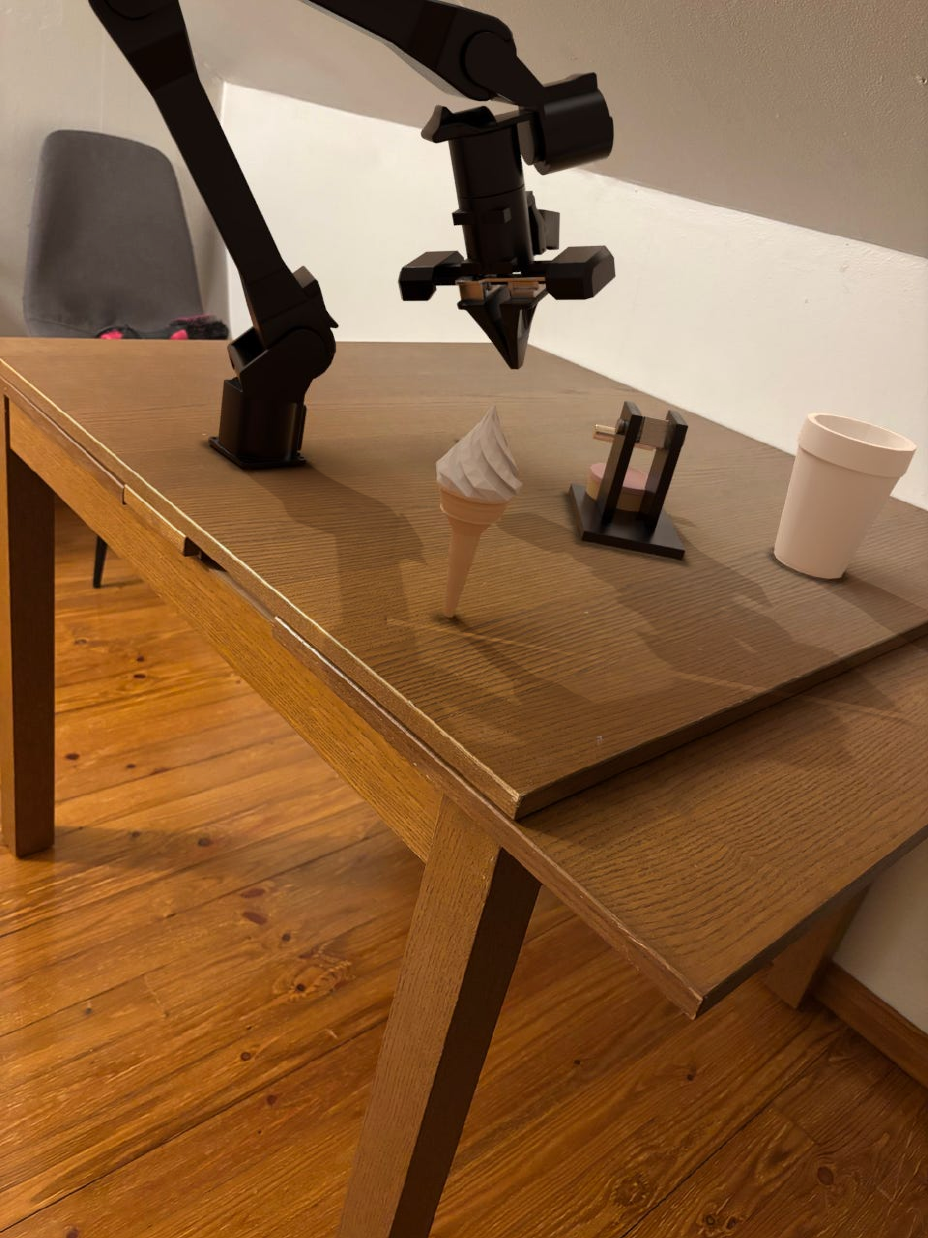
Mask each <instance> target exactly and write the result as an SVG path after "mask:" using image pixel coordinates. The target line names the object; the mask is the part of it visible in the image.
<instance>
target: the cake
mask: <svg viewBox="0 0 928 1238" xmlns="http://www.w3.org/2000/svg"><path fill="white" fill-rule="evenodd" d="M606 464H607V462H598V463H597V462H596V463H593V464H592V465H590V469H589V472H588V475H589V476H588V479H587V483H586V485H585V486H586V492H587V494H588V495H589V496H590V497H592V498H593V499H595V500H596V499H597V496H598V492H599V489H600V485H601V482H602V478H603V475H604V471H605V468H606ZM648 475H649V473H646V472H644V471H641V470H639V469H637V468H634V467H630V466H628V469H627V473H626V476H625V479H624V483H623V486H622V490H621V493H620V496H619V500H618V503H617V506H616V508H618V509H622V510H627V511H639V508H640V505H641V501H642V498H643V496H644V493H645V484H646V481H647V478H648Z"/></svg>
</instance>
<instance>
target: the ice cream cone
mask: <svg viewBox="0 0 928 1238" xmlns="http://www.w3.org/2000/svg"><path fill="white" fill-rule="evenodd" d="M496 406H497V405H496V403H494V404H493V405H492V406H491V408H490V409H489V410H488V411H487V413H486V414H485V415H484V416H483V417H482V418H481V420H480V421H478V423H477V424H476V425H475V426H474V427H473V428H472V429H471V430H470V431H469V432H468V433H466V434H465V435H464V436H462V438H461V439H460V440H459V441H458V442H457V443H456V444H454V445H453V446H452V447H451V448H450V449H449V450H448V451H447V452H446V453H445V454H443V456H441V458H439V459H438V460H436V461H435V469H436V470H435V471H436V478H435V483H436V485H437V486H438V487H439V489H438V492H439V499H440V504H439V508H440V510H441V511H442V512H443V513H444V515H445V516H446V518H447V520H448V522H449V524H450V527H451V531H450V532H451V533H450V538H449V549H448V556H447V571H446V583H445V595H444V605H443V616H445V618H448V619H451V618H453V617H454V616H455V614H456V612H457V608H458V605H459V602H460V599H461V596H462V593H463V591H464V589H465V585H466V582H467V578H468V576H469V573H470V570H471V568H472V565H473V563H474V560H475V556H476V553H477V550H478V547H479V543H480V540H481V537H482V534H483V533H484V532H485V531H487V530H488V528H490V527H491V526H493V525H494V524H497V523H499V522H501V521H502V516H503V515H504V514H505V511H506V509H507V508H508V507H509V505H510V503H511V502H512V501H514V500H516V498H517V497H518V495H519V493H520V492H521V489H522V487H523V483H522V482H521V481H520V480H519V479H518V478H517V477H519V476H520V471H519V469H518V467H517V464H516V461H515V459H514V456H513V454H512V452H511V451H510V449H509V445H508V442H507V439H506V436H505V434H504V431H503V429H502V425H501V421H500V418H499V414H498V411H497V407H496Z"/></svg>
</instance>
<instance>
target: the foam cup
mask: <svg viewBox="0 0 928 1238" xmlns="http://www.w3.org/2000/svg"><path fill="white" fill-rule="evenodd" d="M798 434H799V435H798V437H797V440H796V442H797V443H798V445H797V449H796V454H795V458H794V462H793V466H792V470H791V474H790V479H789V484H788V488H787V491H786V497H785V501H784V505H783V511H782V513H781V518H780V522H779V526H778V530H777V534H776V535H777V536H776V538H775V544H774V547H773V549H774V550H773V554H774V556H775V557H776V559H777V560H778V561H779V562H781V563H782V564H783V565H785V566H786V567H788V568H791V569H793V570H795V571H796V572H799V573H803V574H805V575H809V576H812V577H814V578H820V579H821V578H822V579H828V580H830V579H841V578H842V576H843V574H844V572H845V571H846V570H847V568H848V566H849V565H850V563H851V561H852V559H854V556H855V554H856V553H857V551H858V550H859V548H860V546H861V545H862V543H863V541H864V540H865V537H866V536H867V535H868V533H869V531H870V529H871V528H872V526H873V524H875V521H876V519H877V518H878V516H879V514H880V513H881V511H882V509H883V507H884V506H885V505H886V503H887V501H888V500H889V498H890V496H891V494H892V493H893V491H894V489H895V488H896V486H897V484H898V482H899V481H900V479H901V478H902V477H903V476H904V475H905V474H906V473H907V471H908V469H909V467H910V464H911V463H912V459H913V457H914V455H915V453H916V451H917V448H918V446H917V445H916V444H915V443H914V442H913V441H912V440H911V439H909V438H907V437H905V436H903V435H901V434H899V433H897V432H895V431H893V430H890V429H887V428H885V427H881V426H880V425H876V424H874V423H871V422H868V421H864V420H861V419H857V418H853V417H850V416H844V415H840V414H834V413H829V412H811V413H809V414H807V415H805V418H804V422H803V424H802V427H801V429H800V431H799V433H798Z"/></svg>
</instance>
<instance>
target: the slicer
mask: <svg viewBox="0 0 928 1238" xmlns="http://www.w3.org/2000/svg"><path fill="white" fill-rule="evenodd" d="M643 416H644V415H643V414H642V412H641V411H640V409H639V407H638V405H637V404H636V402H634V401H629V400H624V402H623V404H622V409H621V412H620V415H619V417H618V418H617V420H616V423H615V426H614V428H615V436H614V440H613V443H611V446H610V451H609V455H608V456H607V457H608V458H607V461H606V463H607V464H606V468H605V471H604V475H603V478H602V482H601V485H600V489H599V492H598V496H597V499H596V500H595V499H593V498H592V497H590V496H589V495H588V494H587V492H586V486H587V485H581V484H577V483H576V484H575V483H570V486H569V490H568V496H569V499H570V503H571V507H572V510H573V515H574V518H575V523H576V527H577V529H578V535H579V538H580V541H581V542H586V543H592V544H596V545H600V546H601V545H602V546H607V547H612V548H617V549H622V550H627V551H632V552H637V553H641V554H648V555H652V556H657V557H662V558H666V559H667V558H668V559H673V560H677V561H678V560H679V561H683V559H684V556H685V553H686V549H685V547H684V544H683V543H682V541H681V538H680V537H679V534H678V533H677V531H676V528H675V526H674V525H673V523H672V520H671V518H670V517H669V514H668V513H667V510H666V508H665V506H664V504H665V502H666V499H667V496H668V492H669V489H670V486H671V484H672V483H671V482H672V480H673V476H674V473H675V471H676V467H677V464H678V461H679V457H680V454H681V451H682V448H683V447H684V445H685V442H686V439H687V438H686V437H687V433H688V429H689V425H688V423H687V422H686V420H685V419H684V417H683V416H682V414H681V413H680V412H679V411H675V410H672V409H668V410H667V413H666V416H665V419H664V420H668V421H669V425H668V429H667V434H666V438H665V443H664V447H663V448H661V449H655V452H654V455H653V458H652V462H651V465H650V468H649V471H648V478H647V481H646V484H645V493H644V496H643V498H642V501H641V505H640V508H639V511H627V510H622V509H618V508H616V506H617V503H618V500H619V496H620V493H621V490H622V486H623V483H624V479H625V476H626V473H627V469H628V467H630V463H631V459H632V456H633V453H634V449H635V448H634V446H635V442H636V439H637V436H638V432H639V429H640V426H641V422H642V419H643Z"/></svg>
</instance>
